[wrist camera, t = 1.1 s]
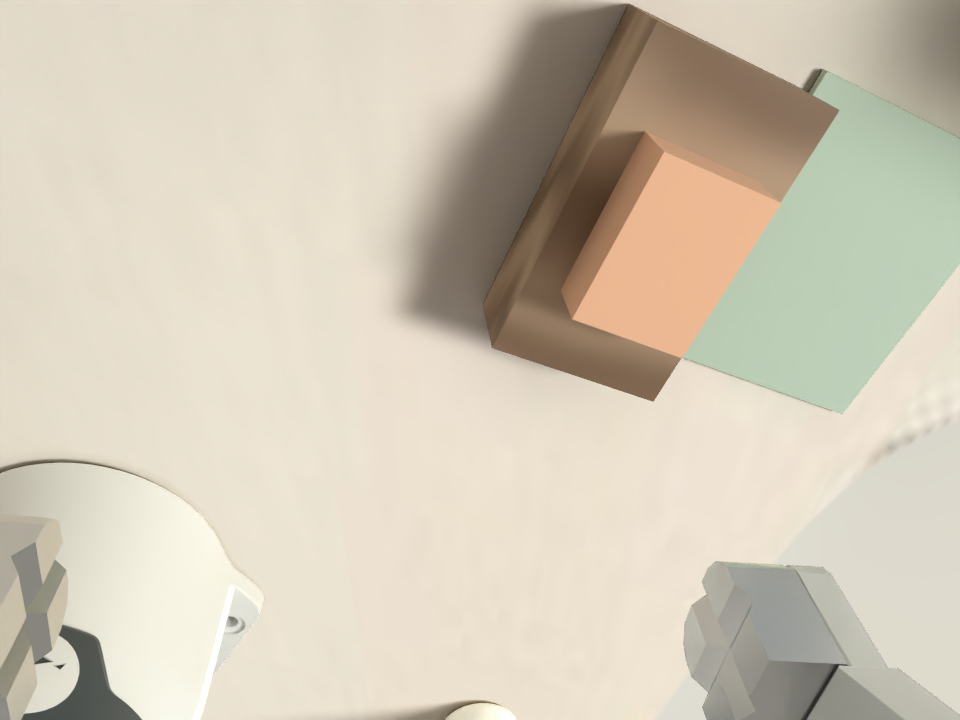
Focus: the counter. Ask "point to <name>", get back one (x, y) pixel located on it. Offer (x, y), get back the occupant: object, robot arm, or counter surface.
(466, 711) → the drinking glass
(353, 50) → the counter surface
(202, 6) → the counter surface
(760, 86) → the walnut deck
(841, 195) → the sage mat
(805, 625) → the robot arm
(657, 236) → the terracotta tile
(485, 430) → the counter surface
